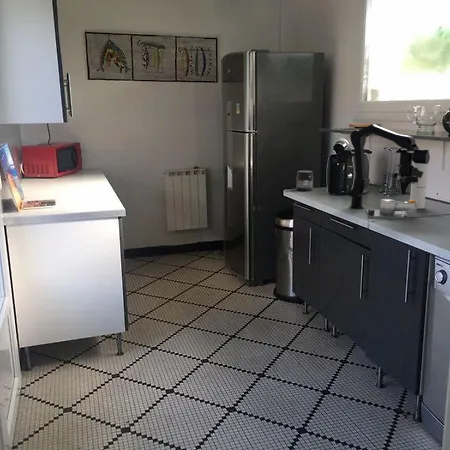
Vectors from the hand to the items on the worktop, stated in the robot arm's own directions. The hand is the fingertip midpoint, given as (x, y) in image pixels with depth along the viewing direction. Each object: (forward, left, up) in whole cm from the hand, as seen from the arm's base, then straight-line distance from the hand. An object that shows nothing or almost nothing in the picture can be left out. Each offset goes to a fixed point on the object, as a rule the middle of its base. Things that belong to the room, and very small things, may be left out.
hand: (402, 194), depth 237 cm
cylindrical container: (-17, +10, -9) cm, 22 cm away
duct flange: (+7, -8, -9) cm, 14 cm away
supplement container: (-64, -49, -9) cm, 81 cm away
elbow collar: (+7, -3, -8) cm, 11 cm away
